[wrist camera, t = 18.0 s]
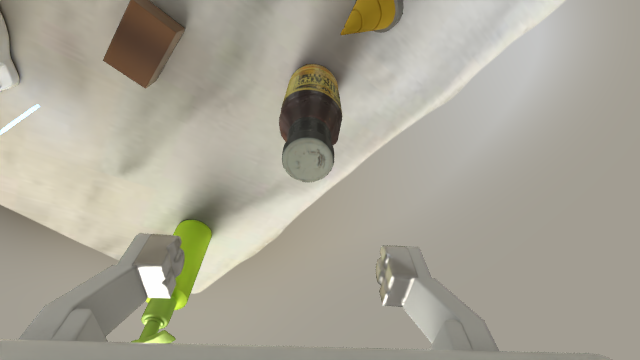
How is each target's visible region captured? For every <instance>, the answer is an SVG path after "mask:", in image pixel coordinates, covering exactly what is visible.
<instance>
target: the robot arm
mask: <svg viewBox="0 0 640 360" xmlns="http://www.w3.org/2000/svg"><path fill="white" fill-rule="evenodd" d="M18 84H19V76H18V73H17V71H16V68H15V66H14V64H13V62H12V60H11V57H10V47H9V35H8V31H7V27H6V24H5V21H4V19H3V16H2V14H1V12H0V92H2V91H4V90H6V89H9V88H11V87H14V86H16V85H18ZM39 107H40V106H39V105H38V104H37V105H35V106H33V107H32V108H31V109H29V110H28V111H26V112H25V113H24V114H22V115H21V116H19V117H18V118H17V119H15V120H14V121H13V122H11V123H10V124H8V125H7V126H6V127H4V128H3V129H2V130H0V134H2V133H4V132H5V131H7V130H8V129H9V128H11V127H12V126H14V125H15V124H16V123H18V122H19V121H21V120H22V119H23V118H25V117H26V116H28V115H29V114H30V113H32V112H33V111H35V110H36V109H37V108H39ZM181 244H182V241H181V237H180V236H175V235H161V234H144V233H139V234H138V235H136V236H135V238H134V239H133V241H132V242H131V244H130V245H129V247H128V248H127V250H126V252H125V253H124V255H123V256H122V258H121V259H120V261H119V262H118V264H117V265H112V266H110V267H109V268H107V269H105V270H104V271H102V272H100V273H99V274H97V275H95V276H94V277H92V278H90V279H89V280H87V281H86V282H84V283H82V284H80V285H79V286H77V287H76V288H74V289H72V290H71V291H69V292H67V293H66V294H64V295H62V296H61V297H59V298H57V299H56V300H54V301H52V302H51V303H49V304H48V305H46V306H44V308H43V309H42V310H41V311H40V313H39V314H38V315H37V316H36V318H35V319H34V320H33V322H32V323H31V324H30V325H29V327H28V328H27V329H26V330H25V332H24V333H23V334H22V335H21V337H20V338H19V339H18V340H11V339H9V340H7V339H0V360H612V359H610V358H608V357H606V356H603V355H599V354H589V353H549V352H548V353H547V352H506V351H499V349H498V347H497V345H496V343H495V341H494V339H493V337H492V336H491V333H490V331H489V329H488V327H487V325H486V323H485V321H484V320H483V319H481V317H479V316H478V315H477V314H476V313H475V312H474V311H473V310H471V309H470V308H469V307H468V306H466V304H464V303H463V302H462V301H461V300H460V299H458V298H457V297H456V296H455V295H454V294H453V293H452V292H450V291H449V290H448V289H447V288H446V287H445V286H443V285H442V284H441V283H440V282H439V281H438V280H436V279H435V278H432V277H431V275H430V272H429V270H428V267H427V265H426V263H425V260H424V258H423V255H422V253H421V250H420V248H419V247H410V246H409V247H408V246H406V247H405V246H384V245H383V246H382V247H381V250H380V255H381V257H380V258H379V259H378V260H377V264H376V278H377V282H378V283H379V284H380V285H381V288H380V291H379V292H380V296H381V301H382V305H383V306H398V307H403V309H404V310H405V311H406V312H407V313H408V315H409V316H410V317H411V318H412V319H413V321H414V322H415V323H416V325H417V326H418V327H419V328H420V330H421V331H422V332H423V333H424V334H425V336H426V337H427V338H428V339H429V340H430V342H431V343H432V345H431V347H430V349H429V350H424V349H423V350H422V349H382V348H341V347H294V346H256V345H216V344H174V343H135V342H130V343H129V342H108V341H107V339H106V336H107V335H108V334H109V333H110V332H111V331H112V330H113V329H114V328H116V327H117V326H118V325H119V324H120V323H121V322H122V321H123V320H125V319H126V318H127V317H128V316H129V315H130V314H131V313H132V312H133V311H135V310H136V309H137V308H138V307H139V306H140V305H141V304H142V303H144V302H145V301H146V300H147V298H171V295H172V293H173V291H174V288H175V286H176V284H177V283H176V279H175V278H176V277H177V276H179V275H180V274H181V272H182V269H183V266H184V261H185V255H184V250H182V249H181V248H180V246H181Z"/></svg>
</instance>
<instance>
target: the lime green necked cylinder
mask: <svg viewBox="0 0 640 360" xmlns="http://www.w3.org/2000/svg"><path fill="white" fill-rule="evenodd" d="M173 235H175V236H180V237H181V241H182V244H181V246H180V248H181V249H182V250H184V255H185V261H184V266H183V269H182V272H181V274H180V275H179V276H177V277H176V278H175V279H176V283H177V284H176V286H175V288H174V291H173V293H172V295H171V298H147V300H146V302H147V303H148V305H147V307H146V309H145V312H144V313H143V316H142V318H141V321H142V323H143V324H144V325H145V327H144V330H143V332H142V334H141V336H140V338H139V339H138V340H134V341H131V342H135V343H171V342H173V341H174V340H175V337H174V336H172V335H171V334H169V333H168V332H167V331H165V330H163V331H161V332H159V333H157V332H158V330H159V329H162V328H165V327H166V326H167V325H168V323H169V321H170V319H171V316H172V314H173V311H174V310H178V309H181V308H183V307H184V306H185V305H186V303H187V301H188V298H189V295H190V293H191V290H192V288H193V285H194V282H195V280H196V277H197V274H198V272H199V269H200V266H201V263H202V261H203V258H204V255H205V253H206V250H207V247H208V245H209V242H210V239H211V236H212V233H211V230H210V229H209V227H208V226H207V225H205V224H204V223H202V222H200V221H196V220H186V221H183V222H181V223H180V224H179V225H178V226H177V228H176V230H175V232H174V234H173Z"/></svg>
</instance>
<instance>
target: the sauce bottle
mask: <svg viewBox="0 0 640 360" xmlns="http://www.w3.org/2000/svg"><path fill="white" fill-rule="evenodd" d="M341 121H342V110H341V104H340V97H339V91H338V85H337V82H336V79H335V77H334V76H333V74H332V73H331V72H330V71H329V70H328V69H326V68H325V67H324V66H321V65H317V64H306V65H305V66H303V67H301V68H299V69H298V70H297V71H296V72H295V73H294V74H293V75H292V77H291V79H290V81H289V84H288V88H287V91H286V95H285V98H284V101H283V104H282V108H281V114H280V117H279V126H280V132H281V136H282V137H283V139H284V140H285V142H286V143H285V145H284V148H283V154H282V162H283V166H284V168H285V170H286V172H287V173H288V174H289V175H290V176H291V177H293V178H294V179H297V180H300V181H302V182H314V181H317V180H320V179H322V178H324V177H325V176H326V175H328V173H329V172H330V171H331V169H332V166H333V164H334V149H333V145H334V144H336V142H337V140H338V136H339V131H340V126H341Z"/></svg>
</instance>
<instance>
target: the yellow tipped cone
mask: <svg viewBox="0 0 640 360" xmlns="http://www.w3.org/2000/svg"><path fill="white" fill-rule="evenodd" d="M402 14H403V0H356V4H355V6H354V8H353V10H352V12H351V14H350V16H349V18H348V20H347V22H346V24H345V26H344V28H345V29H343V30H342V32H341V34H340V35H346V34H353V33H360V32H366V31H375V32H380V33H382V32H386V31H388V30H390V29H391V28H392V27H394V26H395V25H396V24H397V23H398V22H399V20H400V18H401V16H402Z"/></svg>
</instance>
